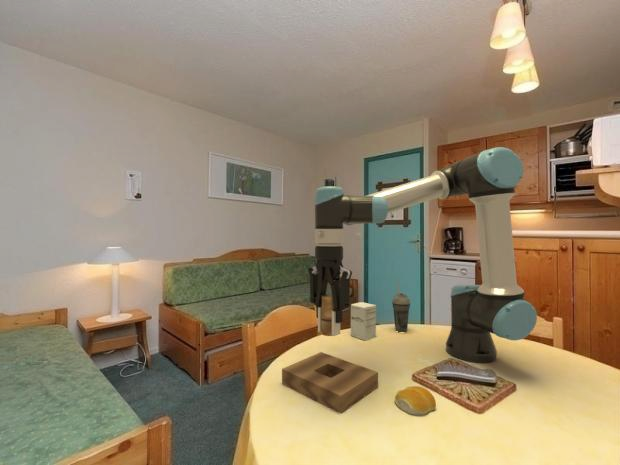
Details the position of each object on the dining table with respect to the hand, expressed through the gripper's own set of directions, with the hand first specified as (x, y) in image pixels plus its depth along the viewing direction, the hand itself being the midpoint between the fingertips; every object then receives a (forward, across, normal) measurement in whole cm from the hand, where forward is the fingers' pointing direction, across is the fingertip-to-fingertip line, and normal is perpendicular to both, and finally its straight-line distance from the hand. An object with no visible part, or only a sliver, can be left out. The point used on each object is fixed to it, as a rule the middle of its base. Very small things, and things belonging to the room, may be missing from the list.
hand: (329, 332), depth 81 cm
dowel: (0, 0, 0) cm, 0 cm away
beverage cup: (+14, -7, +55) cm, 57 cm away
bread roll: (+15, +21, +7) cm, 26 cm away
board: (+14, 0, 0) cm, 14 cm away
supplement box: (+14, -15, +39) cm, 44 cm away
